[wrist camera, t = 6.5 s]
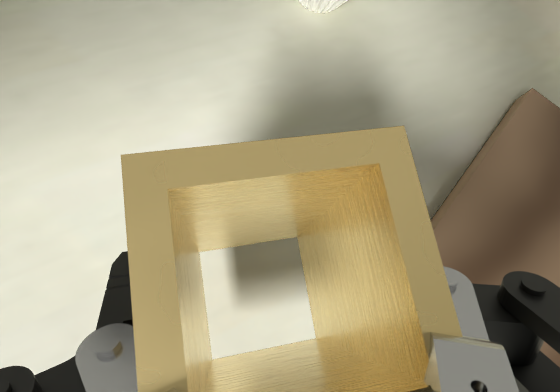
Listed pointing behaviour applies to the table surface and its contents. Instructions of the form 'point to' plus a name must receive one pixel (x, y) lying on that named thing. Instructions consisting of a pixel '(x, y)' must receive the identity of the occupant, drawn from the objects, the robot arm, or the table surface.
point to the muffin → (321, 5)
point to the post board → (508, 202)
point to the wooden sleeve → (314, 254)
